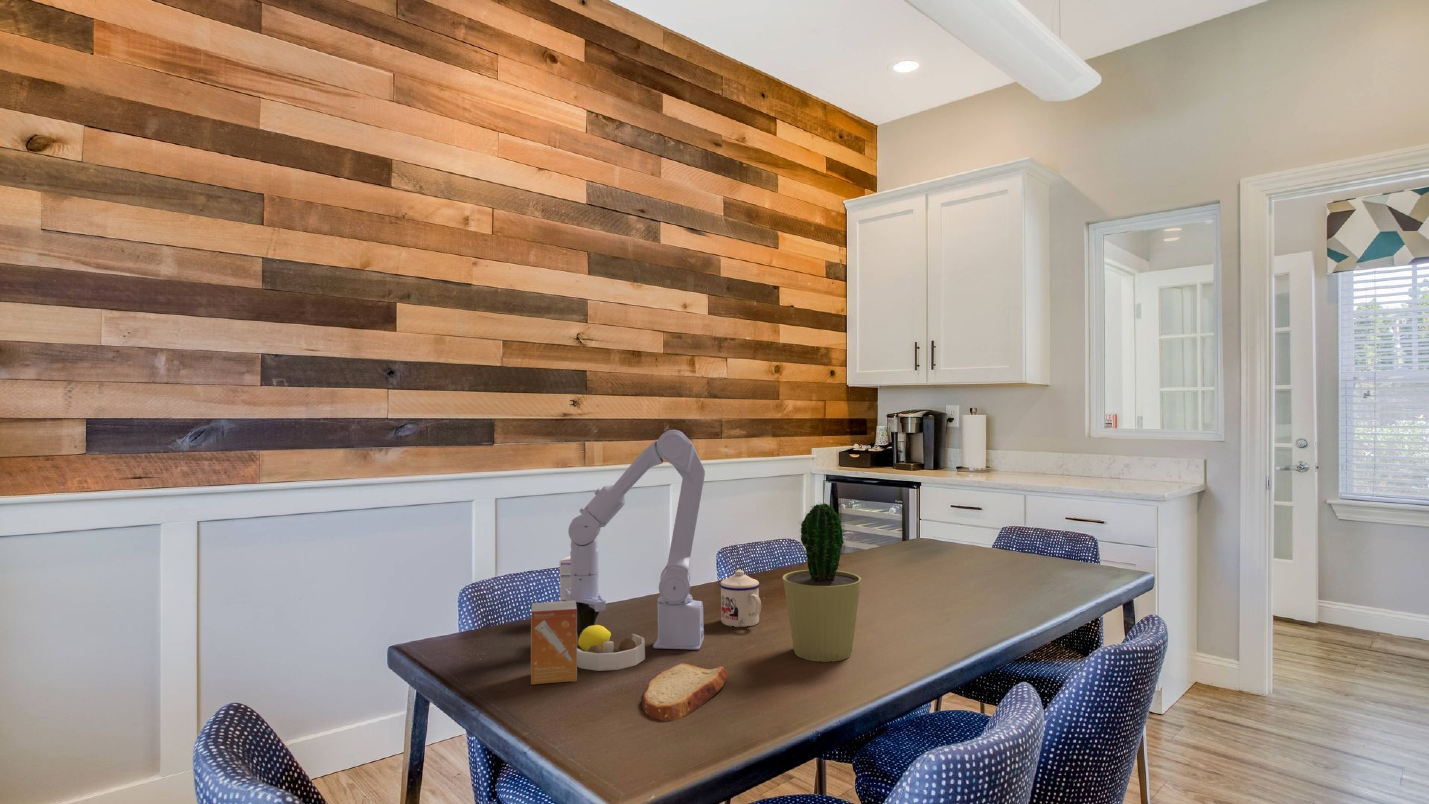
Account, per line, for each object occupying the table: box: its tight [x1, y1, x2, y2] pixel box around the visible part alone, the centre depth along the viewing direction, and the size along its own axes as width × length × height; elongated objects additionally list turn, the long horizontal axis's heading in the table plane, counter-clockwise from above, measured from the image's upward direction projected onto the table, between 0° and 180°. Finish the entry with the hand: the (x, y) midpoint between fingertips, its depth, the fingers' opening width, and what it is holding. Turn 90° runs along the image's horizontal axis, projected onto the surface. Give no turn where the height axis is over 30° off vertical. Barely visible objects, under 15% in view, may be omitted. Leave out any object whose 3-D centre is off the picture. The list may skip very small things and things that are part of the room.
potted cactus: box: [782, 502, 862, 663], centre depth 146 cm, size 15×15×30 cm
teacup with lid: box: [719, 569, 762, 628], centre depth 166 cm, size 12×9×12 cm
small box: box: [530, 600, 578, 686], centre depth 133 cm, size 8×6×13 cm
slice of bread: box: [641, 663, 729, 722], centre depth 124 cm, size 18×18×4 cm
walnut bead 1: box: [587, 645, 604, 653], centre depth 140 cm, size 3×3×3 cm
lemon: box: [577, 624, 612, 652], centre depth 147 cm, size 7×5×5 cm
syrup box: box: [559, 555, 571, 601], centre depth 171 cm, size 6×6×14 cm
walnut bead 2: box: [618, 637, 636, 652], centre depth 144 cm, size 3×3×3 cm
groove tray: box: [577, 633, 646, 672], centre depth 143 cm, size 12×14×3 cm
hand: (584, 639), depth 151 cm, fingers closed
